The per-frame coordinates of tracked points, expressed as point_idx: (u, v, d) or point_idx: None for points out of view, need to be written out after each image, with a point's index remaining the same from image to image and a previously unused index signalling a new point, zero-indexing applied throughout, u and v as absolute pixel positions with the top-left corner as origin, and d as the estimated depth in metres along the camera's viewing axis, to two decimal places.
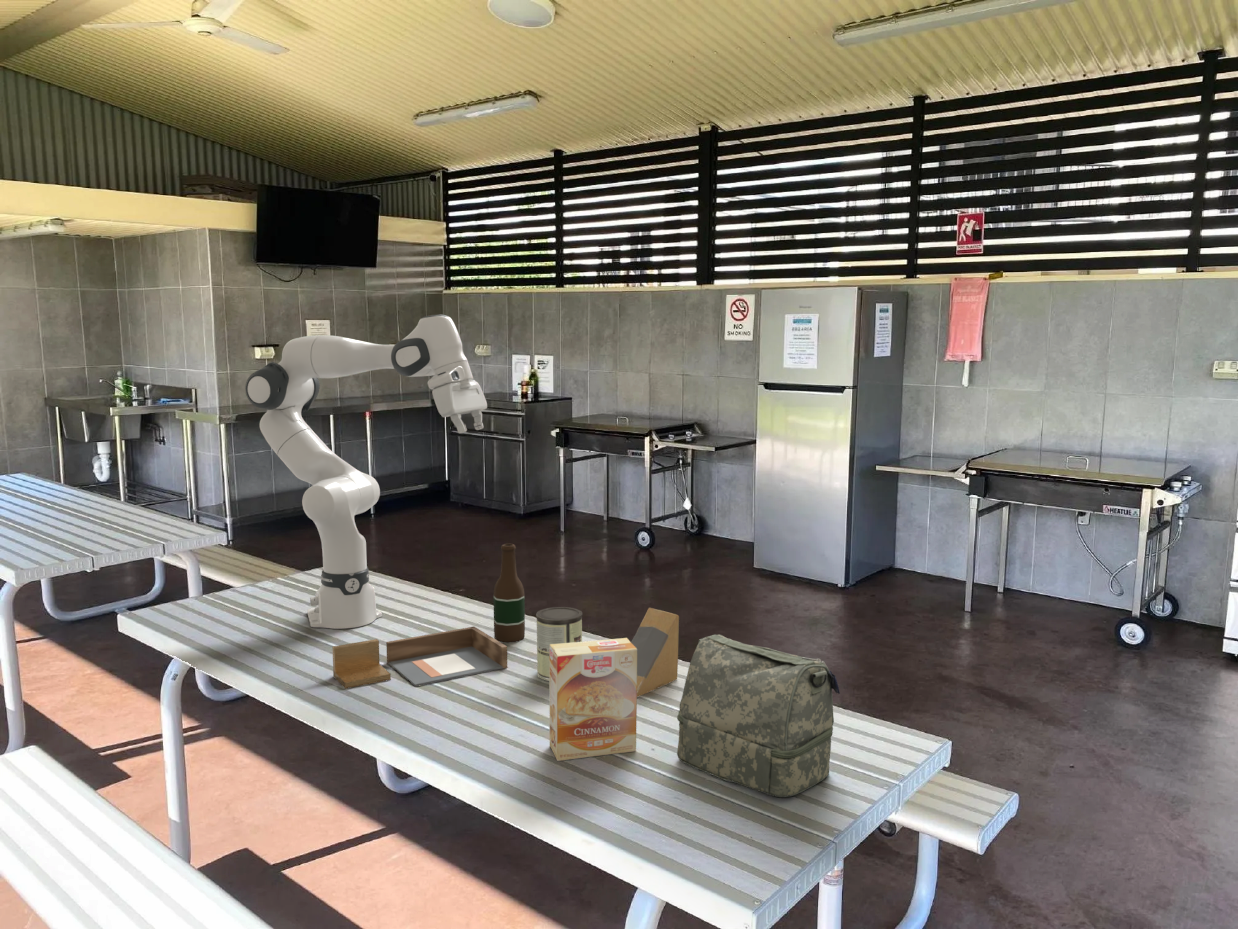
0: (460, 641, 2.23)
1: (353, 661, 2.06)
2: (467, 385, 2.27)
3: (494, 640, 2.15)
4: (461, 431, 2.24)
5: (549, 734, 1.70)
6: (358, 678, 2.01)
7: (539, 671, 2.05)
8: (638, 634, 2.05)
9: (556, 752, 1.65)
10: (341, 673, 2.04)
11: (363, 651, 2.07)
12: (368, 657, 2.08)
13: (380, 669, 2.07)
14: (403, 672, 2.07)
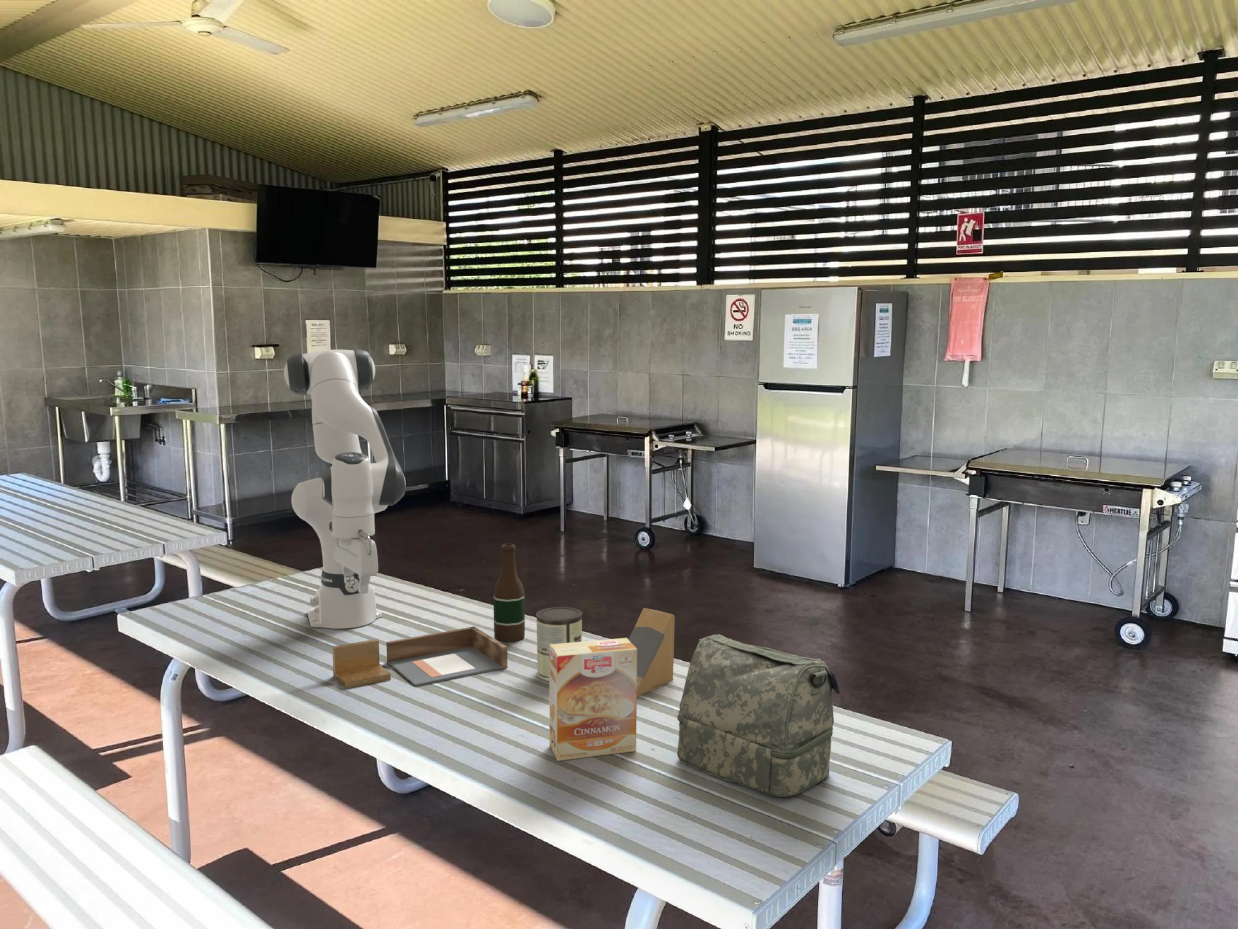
0: (460, 641, 2.23)
1: (353, 661, 2.06)
2: (339, 541, 2.03)
3: (494, 640, 2.15)
4: None
5: (549, 734, 1.70)
6: (358, 678, 2.01)
7: (539, 671, 2.05)
8: (633, 634, 2.04)
9: (556, 752, 1.65)
10: (341, 673, 2.04)
11: (363, 651, 2.07)
12: (368, 657, 2.08)
13: (380, 669, 2.07)
14: (403, 672, 2.07)
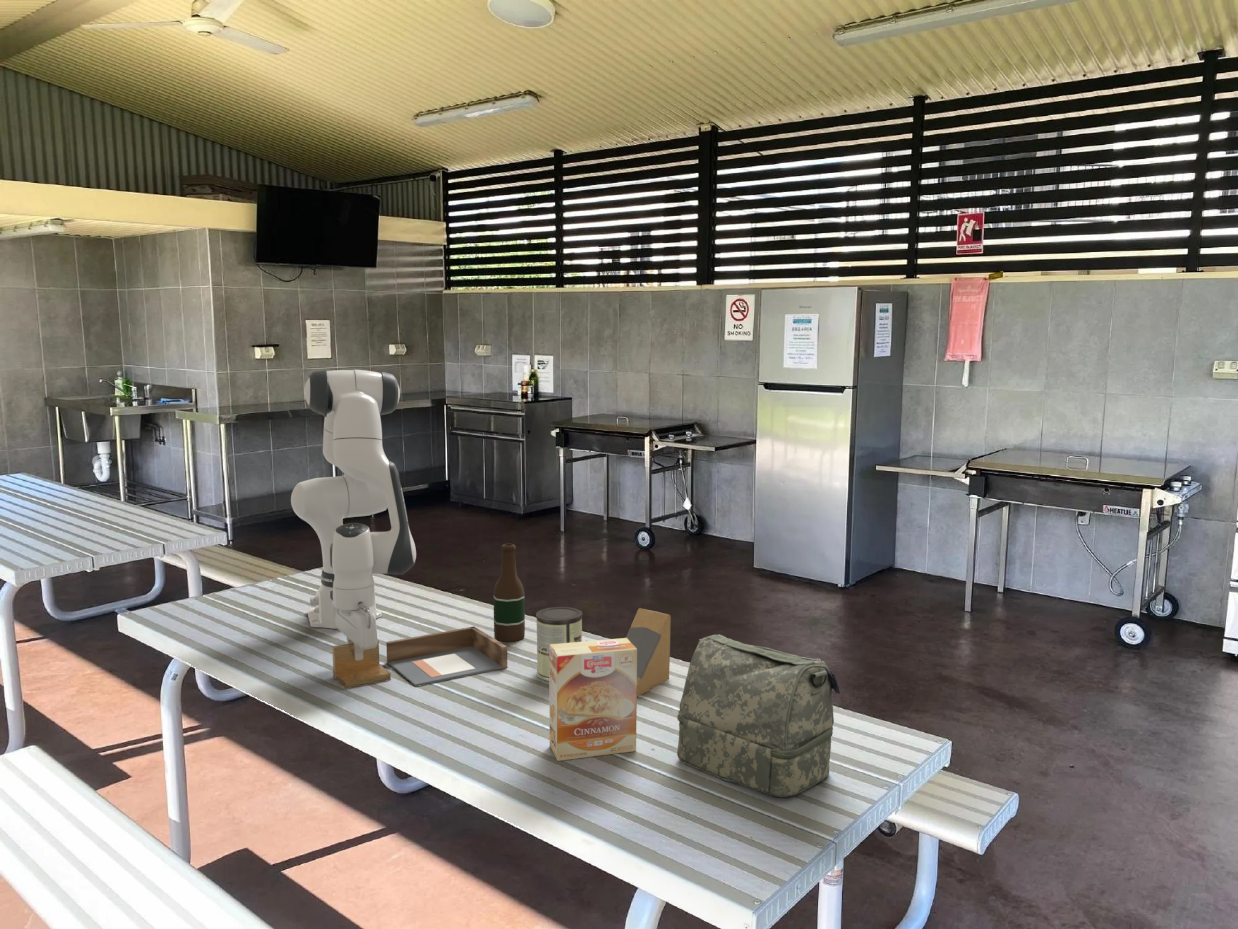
0: (460, 641, 2.23)
1: (353, 661, 2.06)
2: (340, 612, 2.05)
3: (494, 640, 2.15)
4: None
5: (549, 734, 1.70)
6: (358, 678, 2.01)
7: (539, 671, 2.05)
8: (629, 634, 2.04)
9: (556, 752, 1.65)
10: (341, 673, 2.04)
11: (363, 651, 2.07)
12: (368, 657, 2.08)
13: (380, 668, 2.07)
14: (403, 672, 2.07)
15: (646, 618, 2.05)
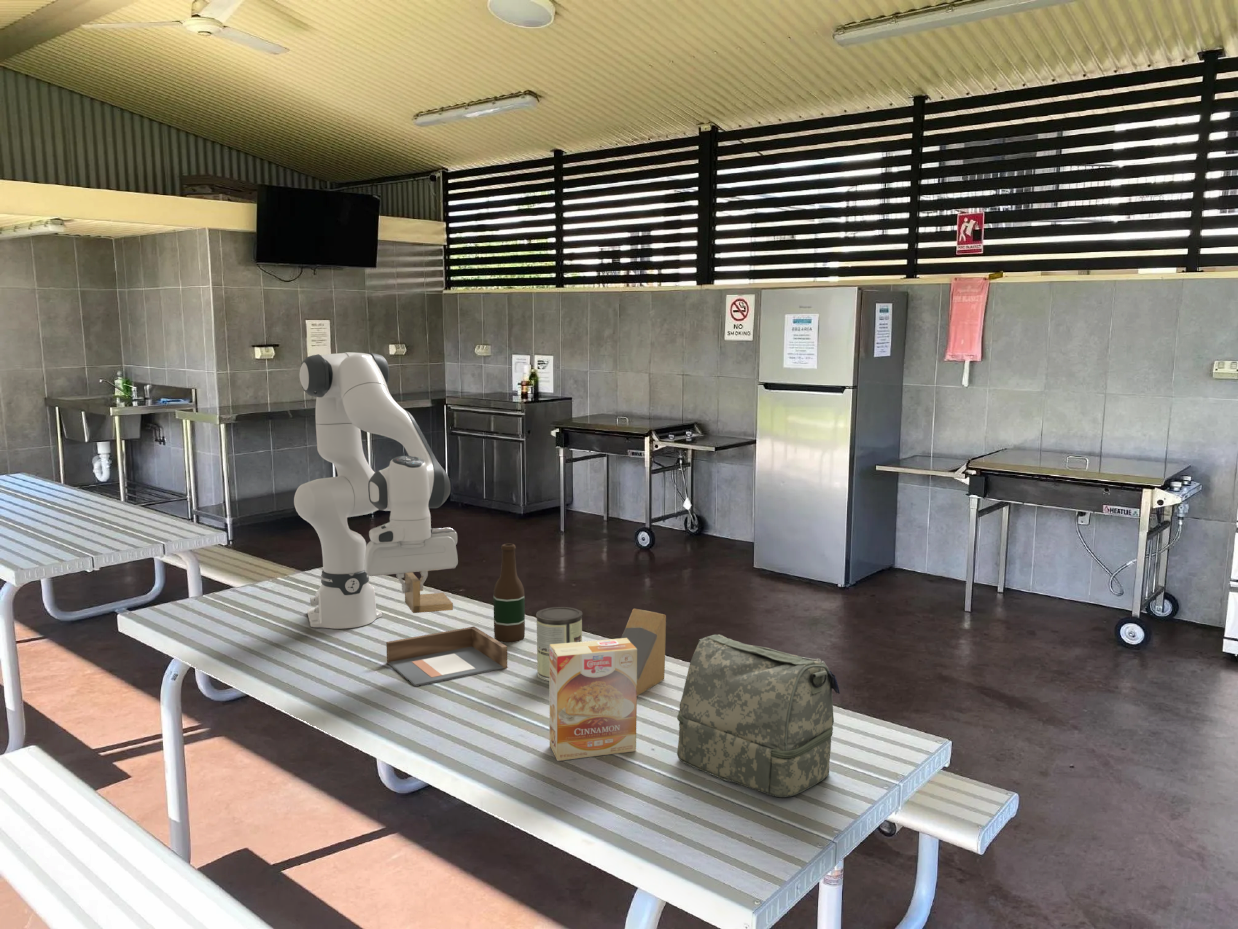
0: (460, 641, 2.23)
1: None
2: (410, 546, 2.02)
3: (494, 640, 2.15)
4: (402, 591, 2.06)
5: (549, 734, 1.70)
6: (446, 600, 2.08)
7: (539, 671, 2.05)
8: (625, 635, 2.03)
9: (556, 752, 1.65)
10: (425, 604, 2.04)
11: None
12: None
13: (425, 594, 2.12)
14: (403, 672, 2.07)
15: (641, 618, 2.04)
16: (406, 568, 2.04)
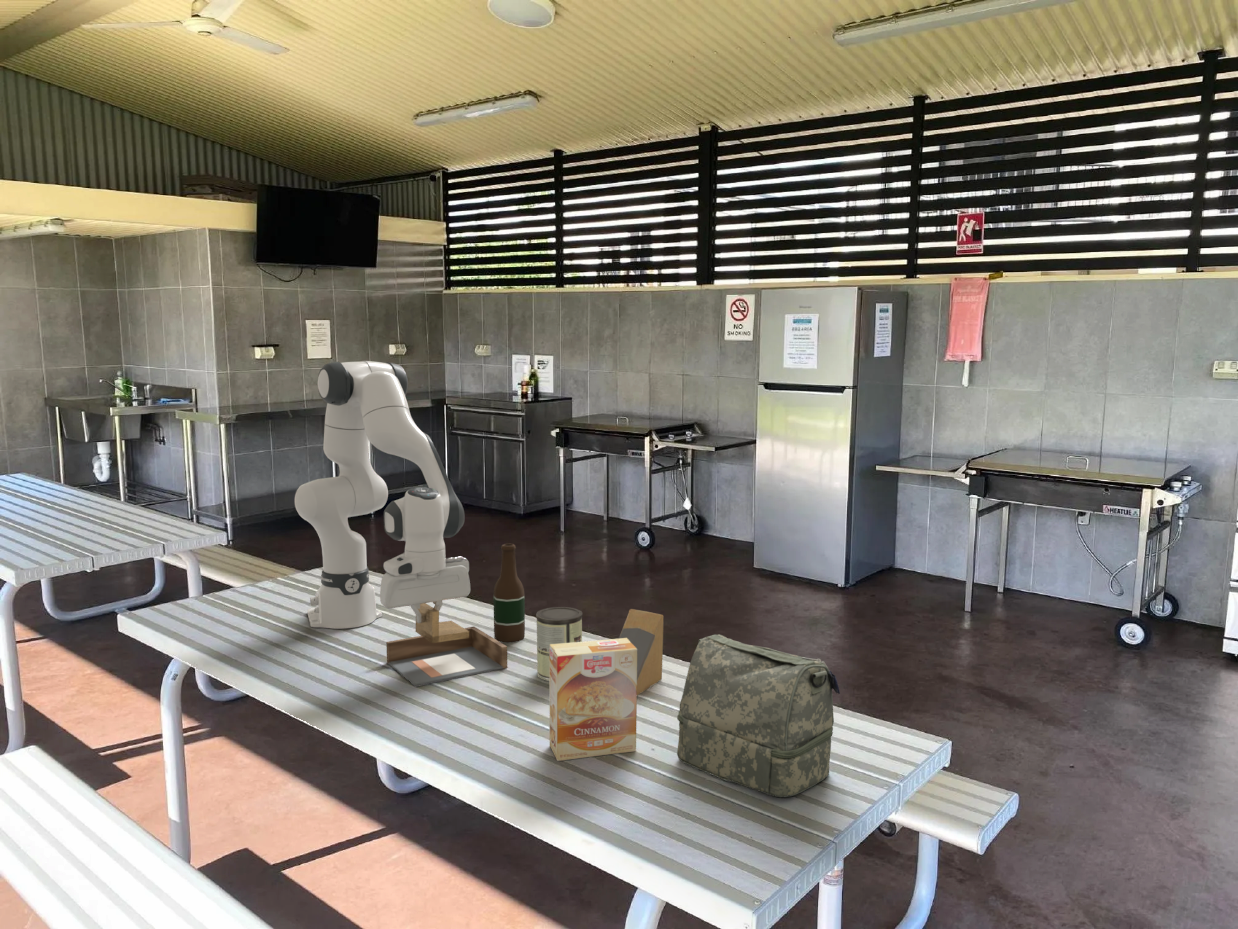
0: (460, 641, 2.23)
1: None
2: (428, 577, 2.04)
3: (494, 640, 2.15)
4: (417, 621, 2.07)
5: (549, 734, 1.70)
6: (459, 628, 2.11)
7: (539, 671, 2.05)
8: (622, 636, 2.03)
9: (556, 752, 1.65)
10: (442, 633, 2.06)
11: None
12: None
13: None
14: (403, 672, 2.07)
15: (638, 619, 2.04)
16: (423, 599, 2.05)
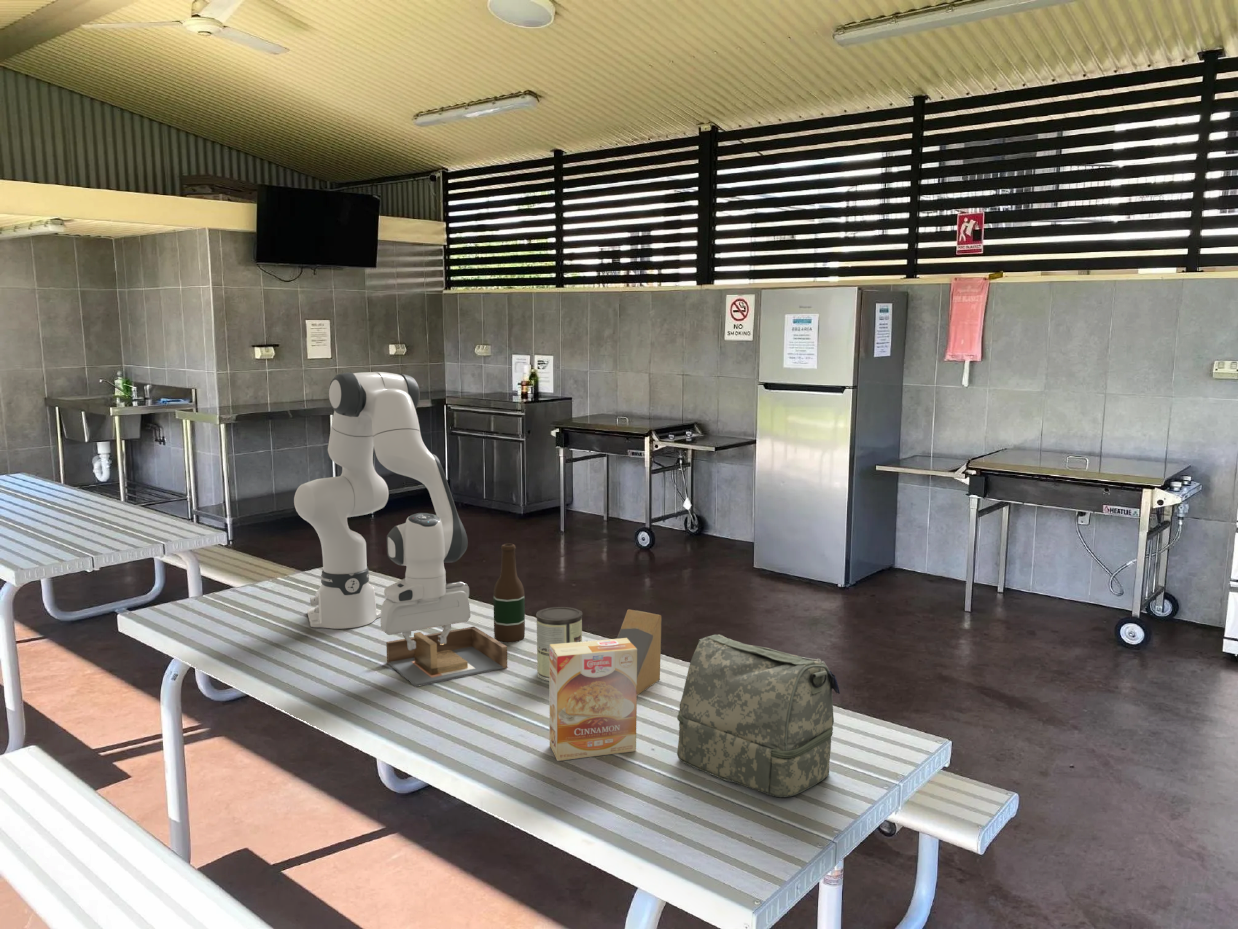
0: (460, 641, 2.23)
1: None
2: (428, 603, 2.05)
3: (494, 640, 2.15)
4: (408, 648, 2.07)
5: (549, 734, 1.70)
6: (458, 658, 2.12)
7: (539, 671, 2.05)
8: (620, 636, 2.03)
9: (556, 752, 1.65)
10: (441, 665, 2.07)
11: None
12: None
13: None
14: (403, 672, 2.07)
15: (636, 619, 2.04)
16: (423, 625, 2.06)
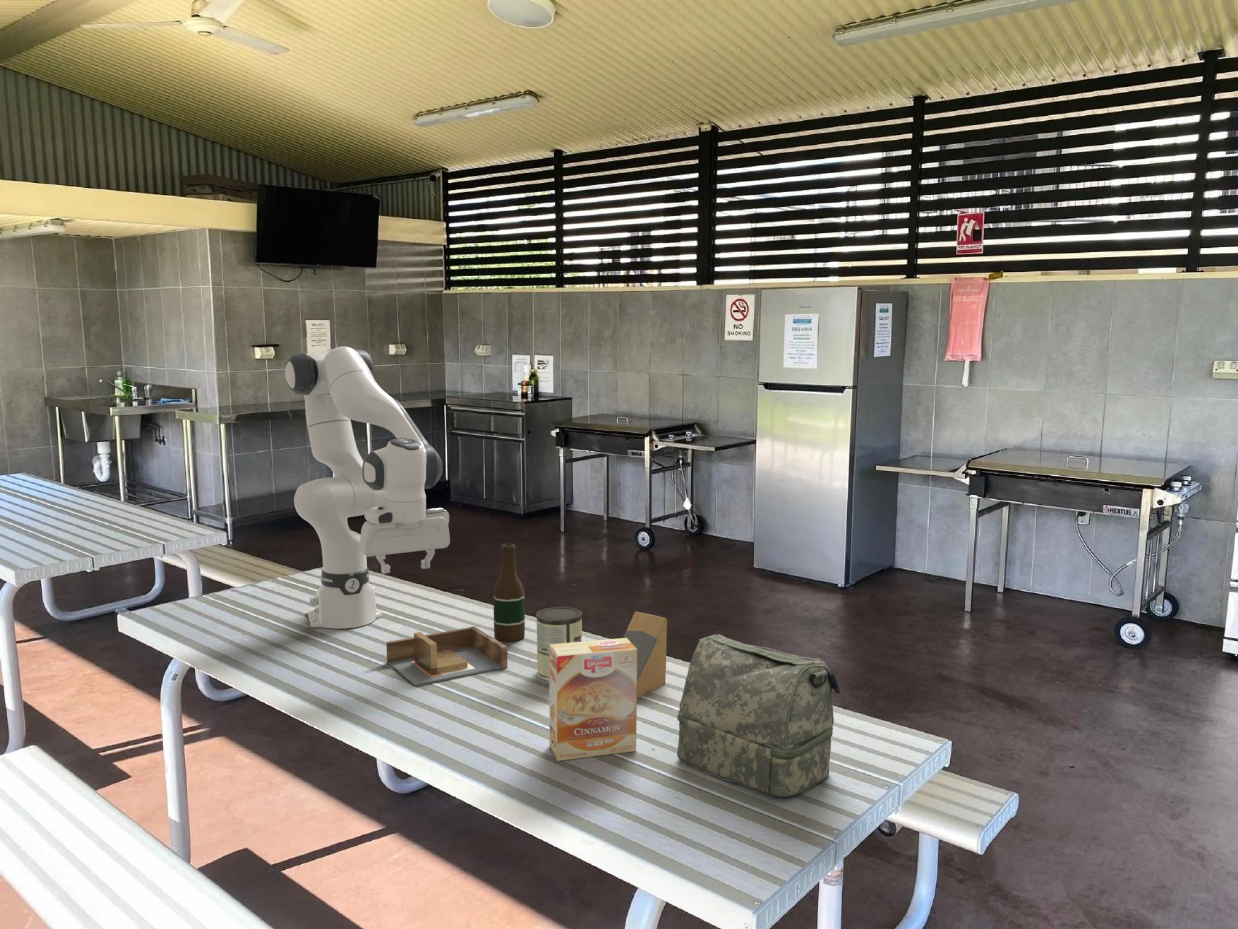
0: (460, 641, 2.23)
1: None
2: (408, 527, 2.06)
3: (494, 640, 2.15)
4: (382, 572, 2.08)
5: (549, 734, 1.70)
6: (458, 658, 2.12)
7: (539, 671, 2.05)
8: None
9: (556, 752, 1.65)
10: (441, 665, 2.07)
11: None
12: None
13: None
14: (403, 672, 2.07)
15: (642, 621, 2.02)
16: (402, 548, 2.08)
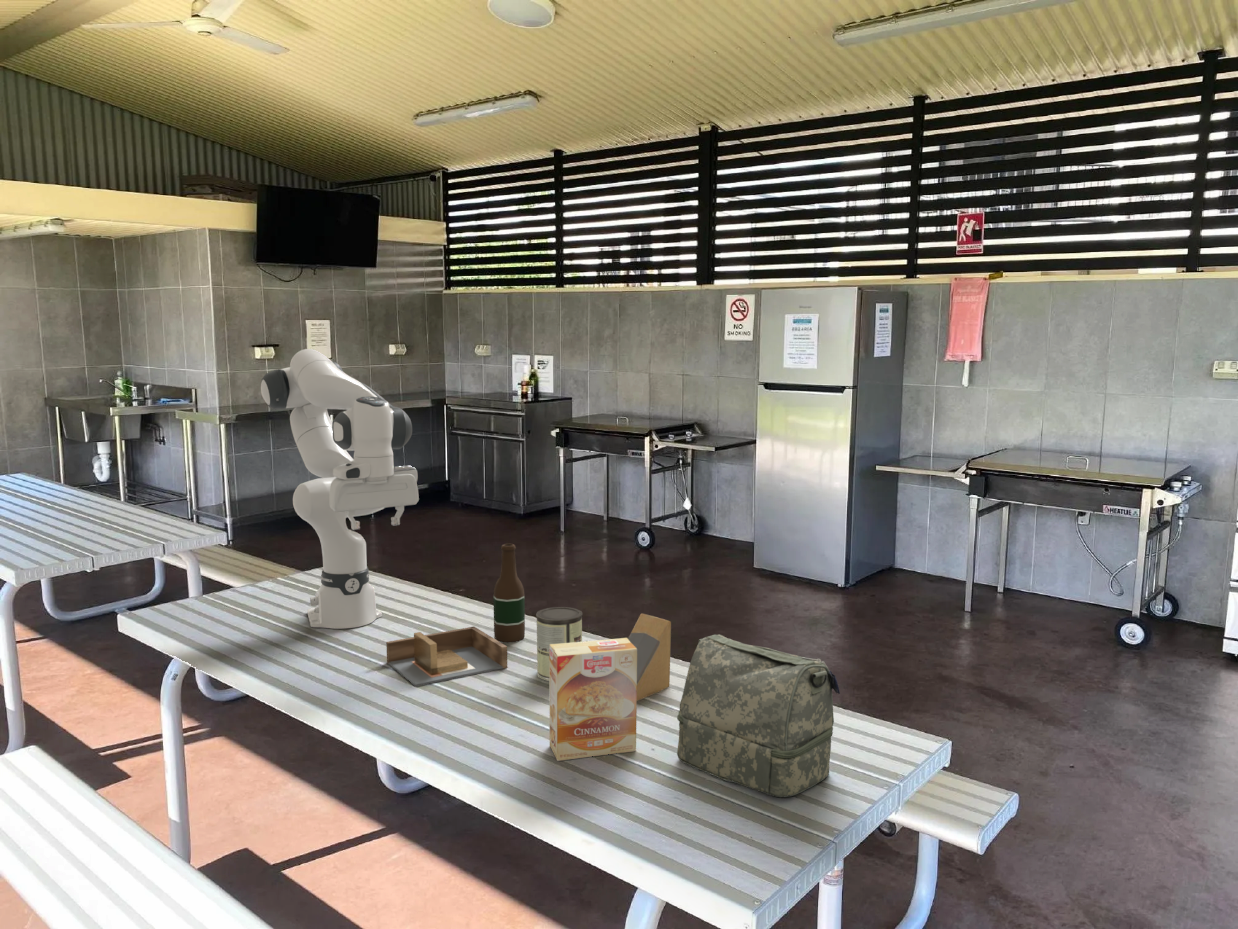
0: (460, 641, 2.23)
1: None
2: (375, 483, 2.11)
3: (494, 640, 2.15)
4: (352, 528, 2.12)
5: (549, 734, 1.70)
6: (458, 658, 2.12)
7: (539, 671, 2.05)
8: (629, 640, 2.00)
9: (556, 752, 1.65)
10: (441, 665, 2.07)
11: None
12: None
13: None
14: (403, 672, 2.07)
15: (647, 624, 2.01)
16: (371, 504, 2.12)
